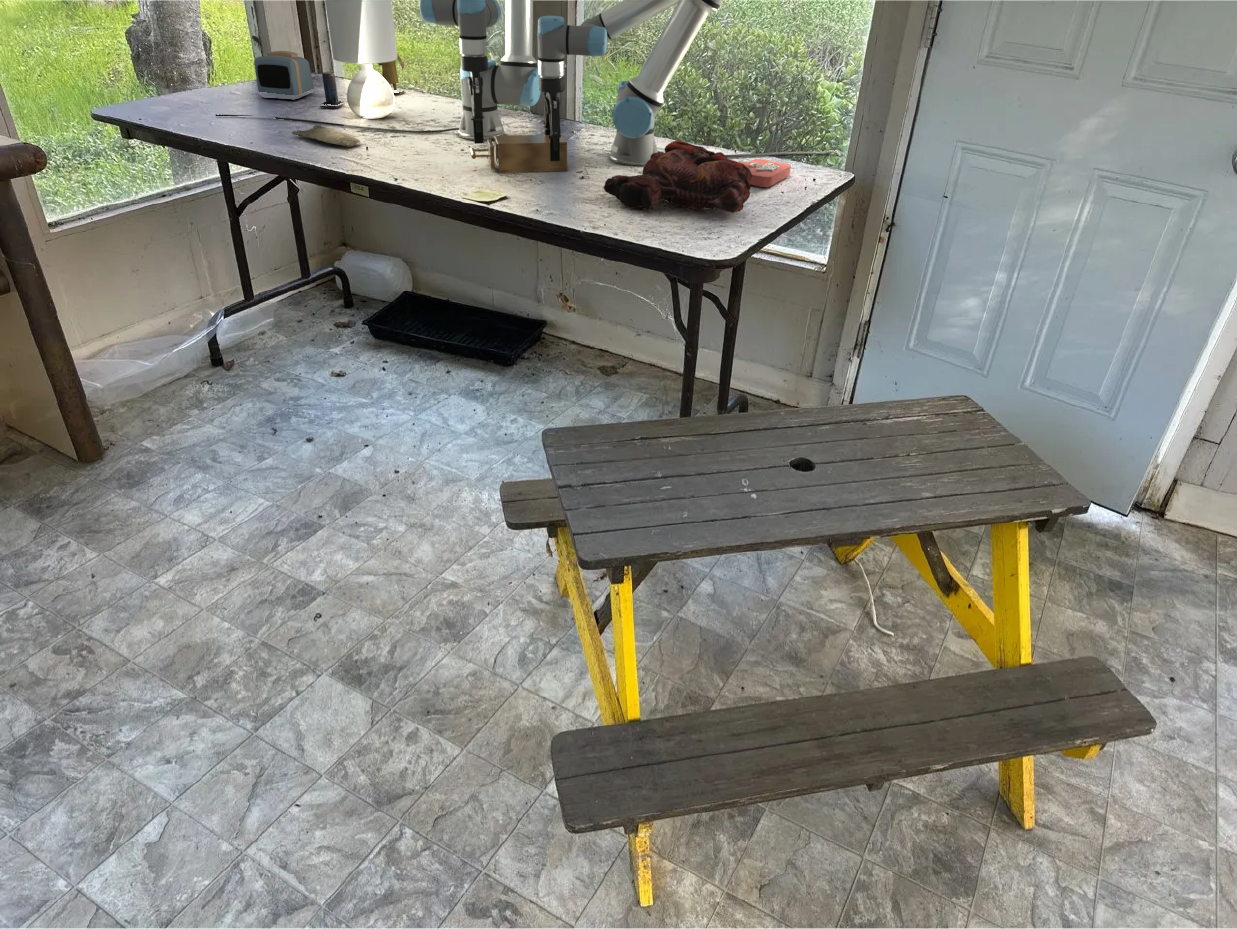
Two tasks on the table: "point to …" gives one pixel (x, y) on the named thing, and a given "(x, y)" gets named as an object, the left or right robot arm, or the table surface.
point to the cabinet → (528, 154)
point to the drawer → (490, 153)
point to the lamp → (364, 51)
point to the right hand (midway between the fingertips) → (552, 155)
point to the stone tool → (328, 136)
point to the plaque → (767, 172)
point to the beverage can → (330, 90)
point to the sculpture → (685, 180)
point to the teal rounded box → (283, 73)
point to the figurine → (391, 72)
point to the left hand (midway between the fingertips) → (479, 142)
